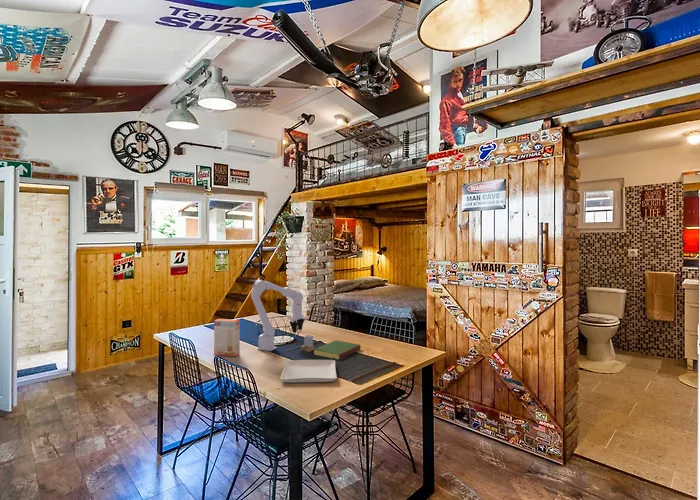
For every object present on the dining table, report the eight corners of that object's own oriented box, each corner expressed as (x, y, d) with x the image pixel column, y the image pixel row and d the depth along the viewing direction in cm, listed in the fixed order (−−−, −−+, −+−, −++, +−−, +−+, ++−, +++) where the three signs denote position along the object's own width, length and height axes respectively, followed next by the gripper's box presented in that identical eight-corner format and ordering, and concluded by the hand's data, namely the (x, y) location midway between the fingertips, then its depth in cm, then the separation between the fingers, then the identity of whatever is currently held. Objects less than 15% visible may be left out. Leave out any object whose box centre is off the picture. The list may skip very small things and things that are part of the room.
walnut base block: (300, 351, 237) (300, 346, 237) (305, 348, 242) (305, 344, 242) (309, 352, 235) (309, 347, 234) (314, 349, 240) (314, 345, 240)
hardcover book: (339, 360, 220) (339, 354, 220) (313, 355, 229) (313, 349, 229) (360, 350, 241) (360, 344, 241) (336, 345, 251) (336, 340, 251)
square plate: (285, 366, 208) (285, 359, 208) (335, 366, 210) (335, 359, 210) (279, 385, 181) (279, 377, 181) (336, 385, 183) (336, 377, 183)
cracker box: (240, 354, 228) (240, 319, 227) (234, 357, 222) (234, 321, 222) (219, 352, 232) (219, 318, 231) (213, 354, 226) (213, 320, 225)
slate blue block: (304, 346, 237) (304, 336, 237) (307, 344, 241) (307, 335, 241) (309, 347, 236) (310, 337, 236) (312, 345, 240) (313, 335, 239)
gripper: (298, 312, 238) (297, 334, 238) (307, 308, 251) (307, 329, 252) (287, 311, 240) (287, 333, 240) (298, 308, 254) (297, 328, 254)
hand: (297, 331), depth 246 cm, fingers open, 7 cm apart
